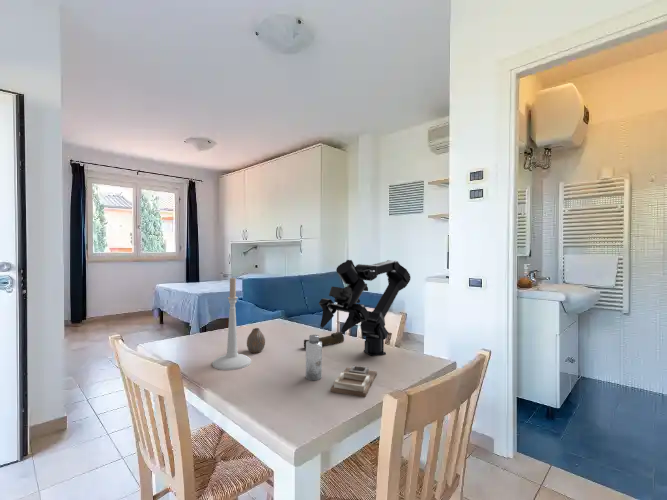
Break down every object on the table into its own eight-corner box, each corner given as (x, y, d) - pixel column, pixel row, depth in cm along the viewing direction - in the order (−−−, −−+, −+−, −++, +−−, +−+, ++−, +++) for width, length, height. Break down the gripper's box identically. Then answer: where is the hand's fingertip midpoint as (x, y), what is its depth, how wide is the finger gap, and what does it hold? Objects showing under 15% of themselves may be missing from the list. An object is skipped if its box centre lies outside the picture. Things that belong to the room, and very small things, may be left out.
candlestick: (256, 358, 123) (257, 275, 123) (241, 371, 111) (242, 279, 110) (223, 356, 125) (224, 274, 125) (205, 368, 113) (205, 278, 112)
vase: (242, 352, 129) (243, 329, 129) (253, 347, 136) (253, 325, 135) (258, 355, 127) (258, 331, 126) (268, 350, 133) (268, 327, 133)
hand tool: (307, 351, 133) (308, 339, 133) (303, 348, 137) (303, 336, 136) (347, 344, 144) (347, 333, 143) (342, 341, 147) (342, 330, 147)
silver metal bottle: (318, 373, 110) (318, 333, 110) (323, 379, 105) (324, 337, 105) (303, 375, 108) (303, 334, 108) (308, 381, 103) (309, 338, 103)
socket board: (346, 370, 112) (346, 363, 112) (376, 374, 109) (376, 366, 109) (330, 391, 96) (330, 382, 96) (365, 397, 93) (365, 387, 93)
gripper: (322, 275, 122) (299, 310, 114) (364, 280, 110) (342, 319, 102) (336, 295, 128) (315, 329, 120) (378, 301, 116) (357, 340, 108)
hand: (331, 329), depth 112 cm, fingers open, 9 cm apart
